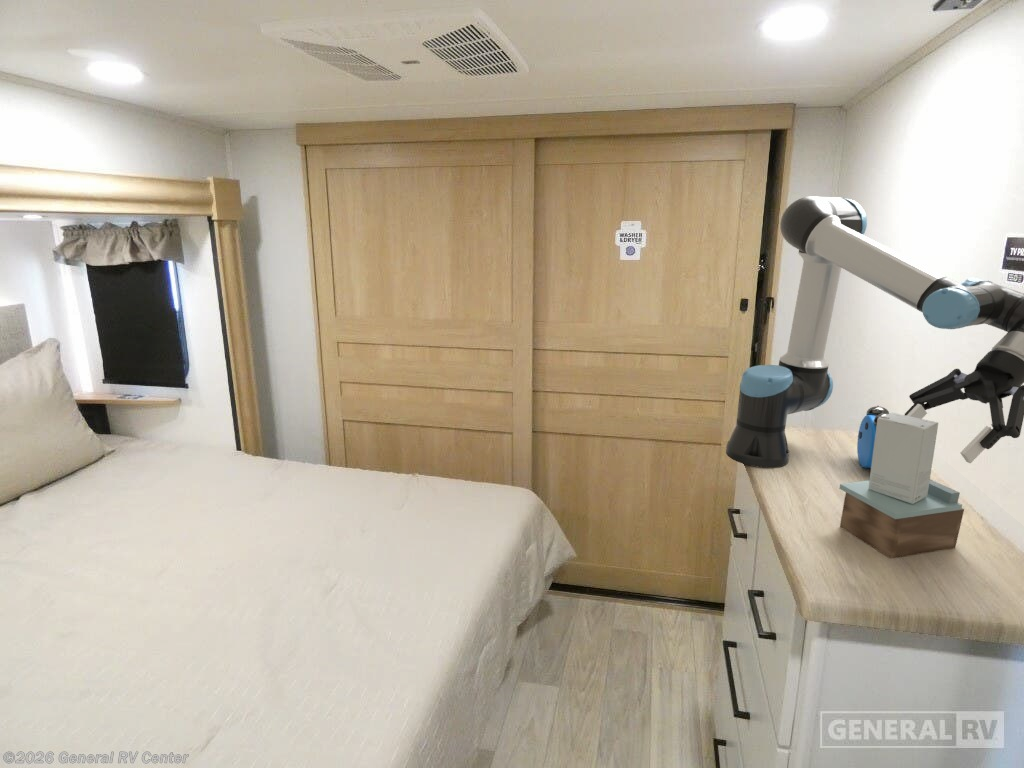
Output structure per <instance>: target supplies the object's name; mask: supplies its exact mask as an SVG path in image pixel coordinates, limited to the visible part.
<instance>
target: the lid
mask: <svg viewBox="0 0 1024 768" xmlns="http://www.w3.org/2000/svg"><path fill="white" fill-rule="evenodd" d="M869 480H870V479H868V480H862V481H854V482H846V483H845V482H844V483H839V489H840V490H841V491H842V492H845V494H846V493H848V494H850V495H852V496H854V497H856V498H857V499H859V500H861V501H863V502H865V503H867V504H868V505H870V506H872V507H874V508H876V509H878V510H879V511H881V512H883V513H885V514H887V515H888V516H890V517H892V518H894V519H901V518H907V517H914V516H921V515H928V514H935V513H942V512H949V511H955V510H961V508H962V509H963V504H962V503H959V498H960V495H961V494H960V493H961V492H960V491H958V490H955V489H952V488H951V487H949V486H946V485H943V484H941V483H940V482H937V481H935V480H932V479H931V478H930V482H929V488H928V494H927V496H926V498H924V499H922V500H920V501H917V502H916V503H914V504H911V503H908V502H905V501H902V500H899V499H896V498H893V497H890V496H887V495H884V494H881V493H878V492H875V491H872V490H869V489H868V488H869Z"/></svg>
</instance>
